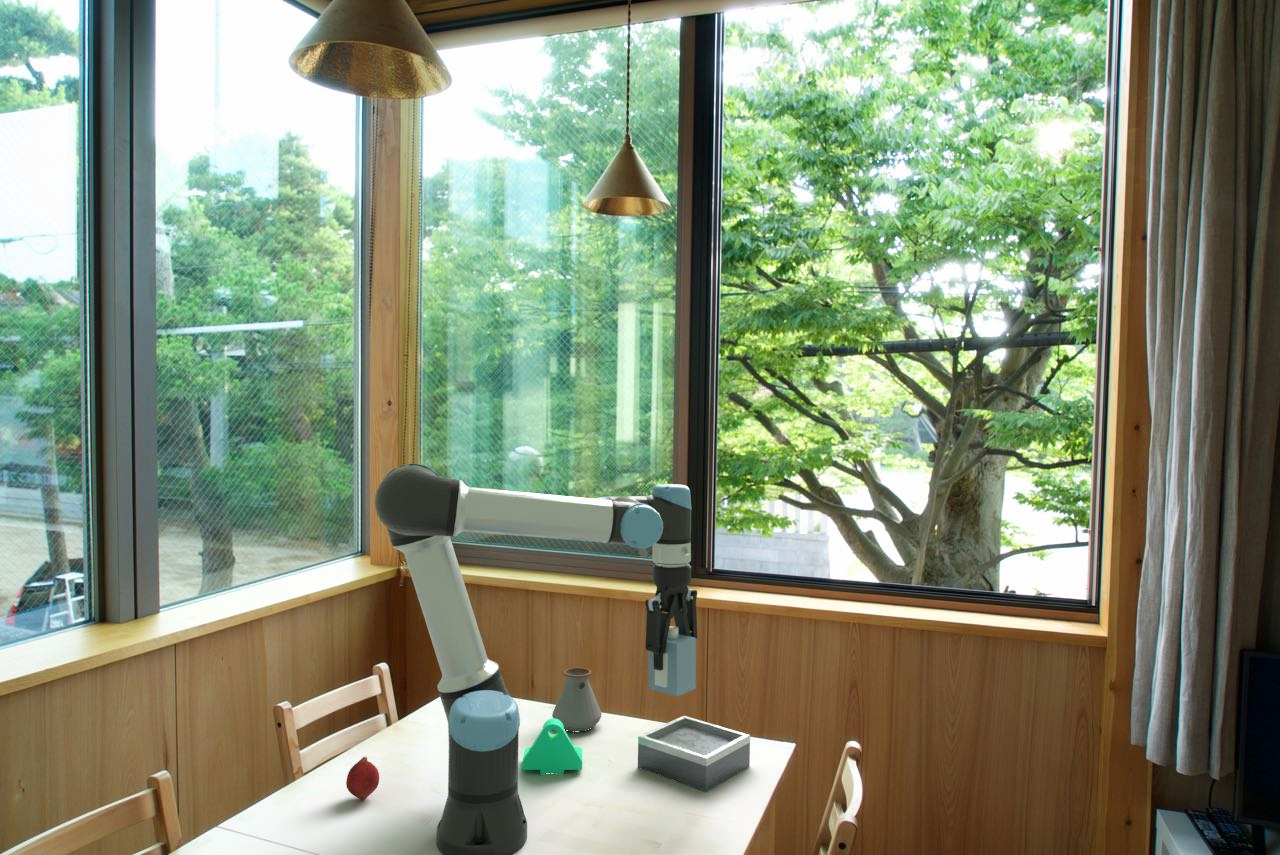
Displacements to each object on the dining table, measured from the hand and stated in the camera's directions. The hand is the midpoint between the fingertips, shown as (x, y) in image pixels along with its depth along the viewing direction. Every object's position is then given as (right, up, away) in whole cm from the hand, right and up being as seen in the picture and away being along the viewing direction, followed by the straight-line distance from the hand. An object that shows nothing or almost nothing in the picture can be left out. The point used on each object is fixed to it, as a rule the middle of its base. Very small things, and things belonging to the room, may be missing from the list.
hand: (672, 681), depth 162 cm
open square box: (+5, -21, +10) cm, 23 cm away
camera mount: (-24, -21, +9) cm, 33 cm away
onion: (-58, -20, -8) cm, 62 cm away
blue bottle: (0, -1, 0) cm, 1 cm away
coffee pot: (-20, -20, +26) cm, 39 cm away
